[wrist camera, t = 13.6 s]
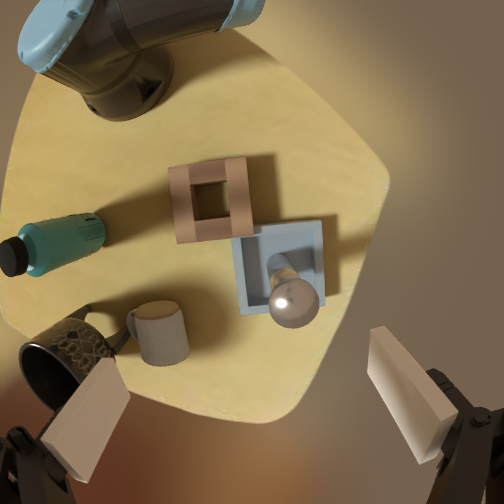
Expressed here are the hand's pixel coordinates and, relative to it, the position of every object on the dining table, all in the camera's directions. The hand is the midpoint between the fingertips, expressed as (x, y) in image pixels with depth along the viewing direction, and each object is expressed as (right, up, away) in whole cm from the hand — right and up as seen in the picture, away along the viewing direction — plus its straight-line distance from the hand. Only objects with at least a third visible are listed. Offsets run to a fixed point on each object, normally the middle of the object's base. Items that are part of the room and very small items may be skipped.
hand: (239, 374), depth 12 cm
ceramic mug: (-14, -6, +29) cm, 33 cm away
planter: (-25, -8, +30) cm, 40 cm away
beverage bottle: (-24, +9, +26) cm, 37 cm away
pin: (+4, +4, +27) cm, 27 cm away
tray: (+4, +4, +27) cm, 28 cm away
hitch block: (-5, +13, +25) cm, 29 cm away
